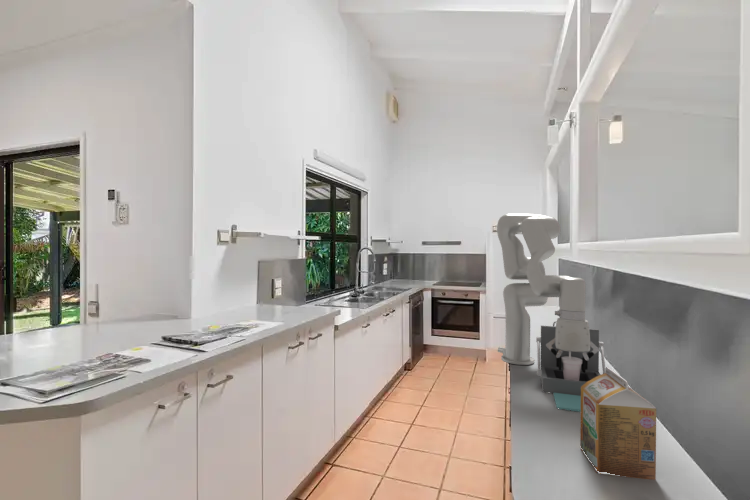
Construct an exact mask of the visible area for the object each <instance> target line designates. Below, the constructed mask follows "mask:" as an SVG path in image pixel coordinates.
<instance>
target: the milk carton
mask: <svg viewBox="0 0 750 500" xmlns="http://www.w3.org/2000/svg"><path fill="white" fill-rule="evenodd" d="M605 370H606V373H604V374H603V373H602V374H601V375H599V376H597V377H595V378H593V379H591V380H589V381H588V382H586V383H585V384H584V385H582V386H581V412H580V430H579V431H580V432H579V433H580V435H579V436H580V437H579V438H580V440H579V442H580V446H581V448H582V449H583V451H584V452H585V454H586V455H587V457H588V458H589V460H590V461H591V462H592V464H593V465H594V467H595V468H596V469H597V471H599V472H607V473H610V474H615V475H620V476H619V477H622V476H626V477H625V478H631V479H632V478H634V479H644V480H654V481H656V479H657V476H656V475H657V472H656V469H657V462H656V461H657V408H656V407H655V406H654V405H653V403H651V402H650V401H649V400H648V399H646V398H644V396H642V395H641V394H639V393H638V392H637V391H635V390H634V389H633V388H631V387H630V386H629V383H628V381H627V380H626V379H625V378H623V376H621V375H619V374H618V373H616V372H615V371H614V370H612V369H611V368H609V367H608V366H605ZM580 446H579V447H580Z"/></svg>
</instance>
